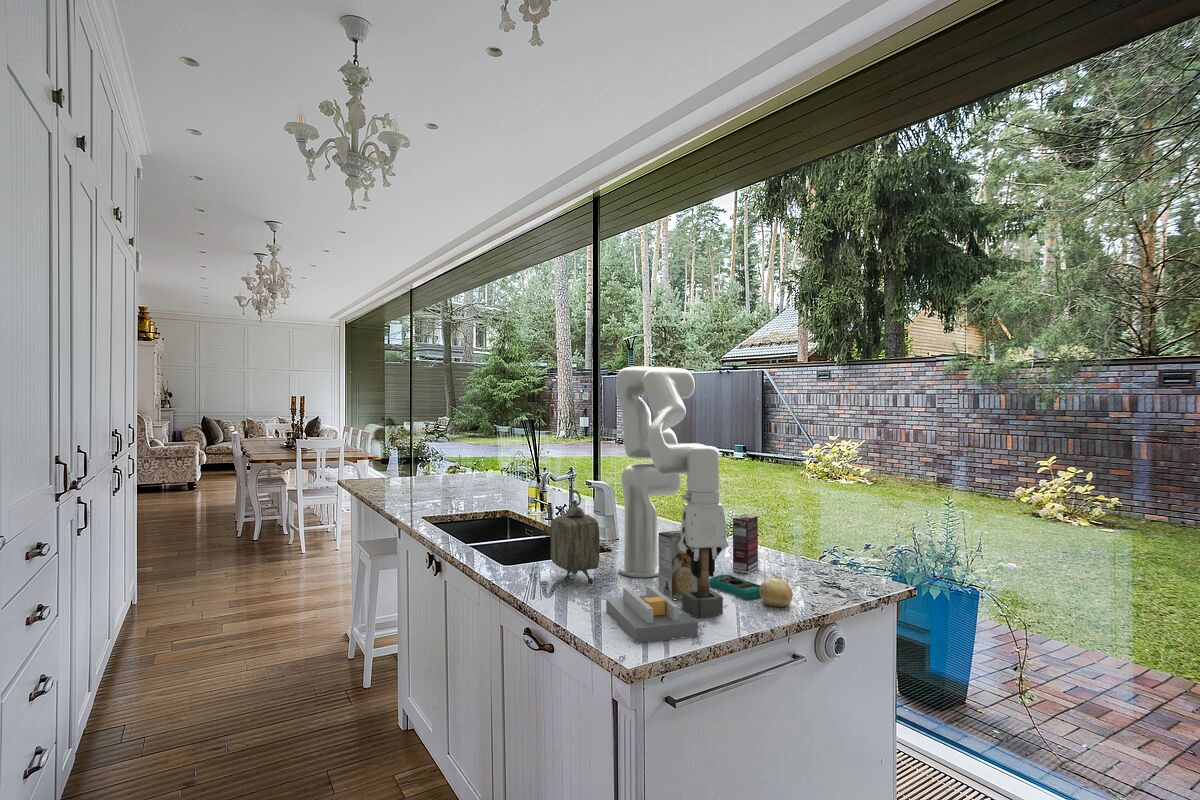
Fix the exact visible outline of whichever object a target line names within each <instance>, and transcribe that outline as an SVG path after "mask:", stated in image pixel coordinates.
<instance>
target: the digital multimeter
mask: <svg viewBox="0 0 1200 800" xmlns="http://www.w3.org/2000/svg"><path fill="white" fill-rule="evenodd" d="M710 586H711V587H710ZM760 586H761V584H757V583H754V582H752V581H748V580H744V579H742V578H740V577H737V576H733V575H730V574H719V575H714V577H710V578H709V587H710V588H713V587H714V588H713V589H716V588H717V589H716V590H719V589H720V591H722V590H723V592H724V591H726V592H725V593H727V592H728V593H727V594H730V593H731V594H730V595H732V594H734V595H733V596H735V595H736V597H738V598H740V597H741V598H740V599H743V600H745V601H746V600H747V601H749V600H756V599H759V598H761V596H760V593H759V589H760ZM755 598H756V599H755Z"/></svg>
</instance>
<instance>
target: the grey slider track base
mask: <svg viewBox="0 0 1200 800" xmlns="http://www.w3.org/2000/svg"><path fill="white" fill-rule="evenodd" d="M645 586H646V587H645V595H638V594H637V593H636V592H634V591H633V590H632V589H631V588H630V587H628V586H627V587H625V586H624V587H623V588H622V597H615V598H614V597H612V598H605V599H606V601H605V605H606V606H605V607H606V609H605V610H606V611H605V612H606V613H607V614H608V616H610V617H611V619H612V618H613V619H614V620H615V621H616V622H617V623H616V622H615V621H614V620H613V619H612V620H613V621H614V622H615V623H616V625H618V627H620V629H621V630H623V632H624V633H625V634H626V633H627V634H628V635H629V636H630V637H631V638H632V639H633V640H634V641H635V642H642V643H649V642H648V641H651V642H657V641H658V642H659V641H665V640H664V639H669V640H673V639H672V638H678V639H682V638H681V637H687V638H692V637H691V636H696V637H699V635H698V634H699V632H698V631H699V630H698V629H699V627H698V626H699V622H698V621H697V620H696V619H694V617H692V616H691V615H690V614H688V613H687V612H686V611H684V610H683V609H682V608H680V605H678V604H676V602H674V601H672V600H670V599H669V598H667V597H666V596H665V595H663V594H662V593H661V592H659V589H657V588H655V587H654V586H652V584H650V585H649V584H648V585H645ZM649 597H661V598H663V599H664V600H665V615H655V616H653V608H652V607H651V606H650V605H648V604H647V603H646V602H645V601H644V600H643V598H649ZM628 635H627V636H628ZM629 636H628V637H629ZM630 637H629V638H630ZM631 638H630V639H631ZM632 639H631V640H632ZM633 640H632V641H633ZM634 641H633V642H634ZM635 642H634V643H635Z"/></svg>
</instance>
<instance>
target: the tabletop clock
mask: <svg viewBox="0 0 1200 800" xmlns="http://www.w3.org/2000/svg"><path fill="white" fill-rule="evenodd" d="M572 494H576V495H577V497H578V500H577V499H574V500H573V499H572ZM569 501H570V503H571V504H572V506H571V507H568V508H567V510H566V512H565V514H564V515H558V516H556V517H555V518H553V519H552V520H551V521H550V534H549V535H550V538H549V539H550V542H549V545H550V547H549V549H550V551H549V552H550V559H551V561H552V563H553V564H554V565H556V566H557V567H559V568H561V570H562V569H563V570H565V571H567V572H566V575H565V576H564V578H563V580H564V582H570V581H571V580H570V579H571V578H570V574H571V573H572V574H573V575H577V574H578V572H582V573H584V575H585V576H586V578H587V583H588V585H592V584H594V582H595V581H594V579H593V578H592V577H590V575H589V573H588V571H589V570H596V569H599V563H600V554H601V553H600V548H601V545H600V544H601V541H600V537H601V536H600V526H599V522H598V520H597V519H596V518H595V517H593V516H591V515H590V514H585V512H584V510H583V509H582V508H581V507H580V505H581V502H582V499H581V494H580V492H579V491H578V490H575V489H573V490H571V491H570V493H569Z"/></svg>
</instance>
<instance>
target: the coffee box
mask: <svg viewBox="0 0 1200 800" xmlns="http://www.w3.org/2000/svg"><path fill="white" fill-rule="evenodd" d="M680 539H681V529H680V530H670V531H662V532H661V531H660V532H658V566H659V575H658V591H659V592H661V593H662V594H663V595H665V596H666V597H667V598H669V599H671V601H672V600H673V601H675V600H674V599H679V600H682V592H687V591H689V590H697V578H696V577H695V576H693V575H692V573H691V558H689V556H688V555H687V554H686V553H684V552H682V551H680V550H678V549H677V546H678V544H679V541H680ZM685 547H686V548H688V549H689V546H688V545H685Z"/></svg>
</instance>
